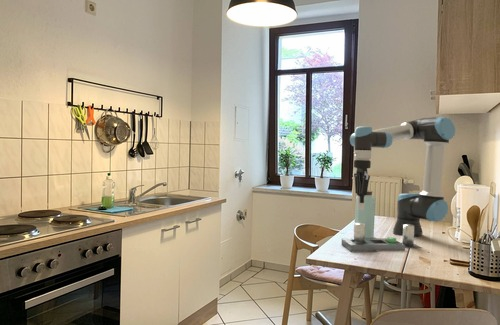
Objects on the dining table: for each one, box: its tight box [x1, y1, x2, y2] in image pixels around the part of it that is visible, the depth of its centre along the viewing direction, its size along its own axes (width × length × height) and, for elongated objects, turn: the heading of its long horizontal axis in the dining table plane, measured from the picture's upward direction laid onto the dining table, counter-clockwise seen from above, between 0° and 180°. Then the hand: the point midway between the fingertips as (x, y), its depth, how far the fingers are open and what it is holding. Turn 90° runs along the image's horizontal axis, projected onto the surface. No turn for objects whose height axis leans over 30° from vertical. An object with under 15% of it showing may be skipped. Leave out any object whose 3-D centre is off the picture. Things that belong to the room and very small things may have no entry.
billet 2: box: [401, 224, 415, 247], centre depth 177 cm, size 5×5×10 cm
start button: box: [387, 236, 397, 243], centre depth 175 cm, size 4×4×2 cm
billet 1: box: [353, 222, 365, 244], centre depth 173 cm, size 5×5×10 cm
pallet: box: [341, 237, 406, 253], centre depth 174 cm, size 26×12×3 cm, turn 96°
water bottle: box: [354, 190, 376, 238], centre depth 192 cm, size 10×10×25 cm
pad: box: [405, 243, 423, 249], centre depth 178 cm, size 10×10×1 cm
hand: (360, 209), depth 172 cm, fingers closed
